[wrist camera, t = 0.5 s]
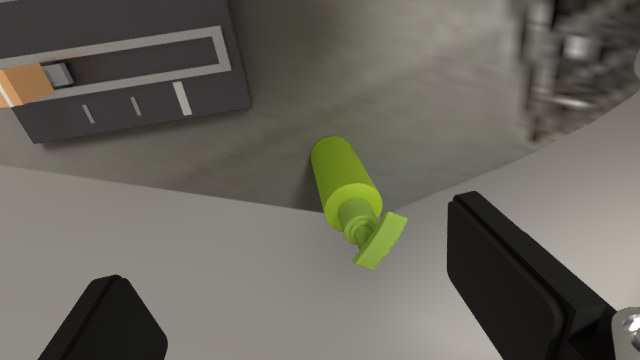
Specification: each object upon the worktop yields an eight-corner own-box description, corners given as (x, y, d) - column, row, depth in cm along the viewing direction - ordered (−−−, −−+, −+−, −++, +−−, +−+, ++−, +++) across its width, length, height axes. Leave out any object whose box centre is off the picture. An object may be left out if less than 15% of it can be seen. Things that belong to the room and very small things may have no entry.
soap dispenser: (365, 139, 42) (430, 230, 25) (340, 181, 45) (383, 290, 27) (326, 121, 40) (368, 206, 23) (303, 166, 43) (323, 273, 25)
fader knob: (23, 63, 30) (-34, 75, 25) (61, 57, 31) (13, 68, 25) (40, 92, 32) (-11, 110, 26) (76, 87, 32) (34, 103, 26)
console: (-27, 10, 30) (-60, 10, 27) (222, -26, 31) (216, -30, 28) (48, 136, 37) (27, 147, 33) (252, 102, 38) (251, 110, 35)
